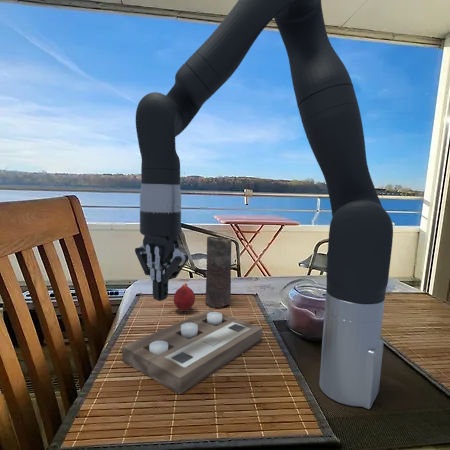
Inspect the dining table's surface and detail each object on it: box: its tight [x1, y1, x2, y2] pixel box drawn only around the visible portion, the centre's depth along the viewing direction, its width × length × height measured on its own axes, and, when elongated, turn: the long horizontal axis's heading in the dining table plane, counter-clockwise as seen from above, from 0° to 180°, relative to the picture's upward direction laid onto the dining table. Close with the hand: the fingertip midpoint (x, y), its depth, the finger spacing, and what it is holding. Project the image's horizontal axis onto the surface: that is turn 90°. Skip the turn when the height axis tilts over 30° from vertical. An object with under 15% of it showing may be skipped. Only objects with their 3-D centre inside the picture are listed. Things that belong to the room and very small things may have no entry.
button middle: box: [181, 323, 198, 339], centre depth 71 cm, size 4×4×2 cm
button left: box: [149, 341, 168, 355], centre depth 64 cm, size 4×4×2 cm
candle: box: [205, 236, 232, 309], centre depth 96 cm, size 8×7×20 cm
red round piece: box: [173, 282, 196, 313], centre depth 90 cm, size 6×6×8 cm
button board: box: [121, 309, 263, 395], centre depth 69 cm, size 16×26×3 cm, turn 142°
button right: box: [207, 311, 223, 326], centre depth 77 cm, size 4×4×2 cm
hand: (160, 299), depth 63 cm, fingers closed
